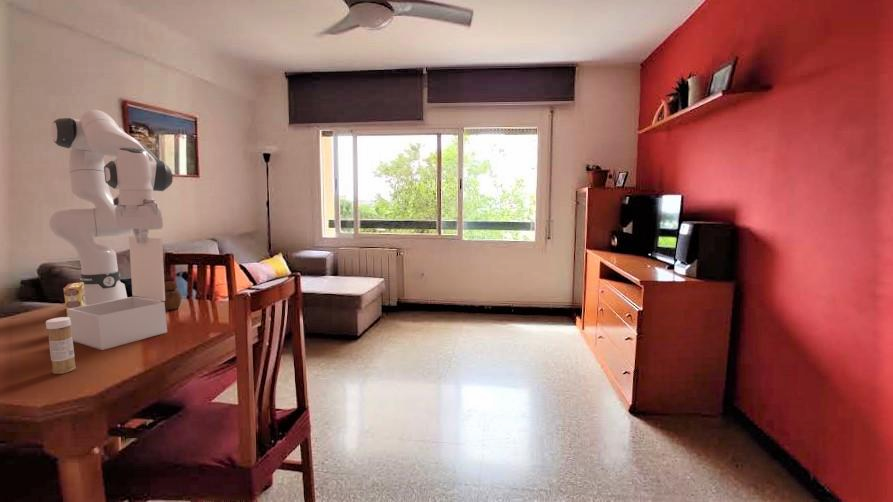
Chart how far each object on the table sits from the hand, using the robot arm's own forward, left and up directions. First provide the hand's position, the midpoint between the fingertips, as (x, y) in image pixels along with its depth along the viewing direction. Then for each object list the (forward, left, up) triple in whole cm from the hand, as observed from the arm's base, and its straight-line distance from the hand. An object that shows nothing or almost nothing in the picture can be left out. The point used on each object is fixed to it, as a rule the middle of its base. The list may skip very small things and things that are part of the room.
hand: (141, 243), depth 140 cm
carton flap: (0, +1, -8) cm, 8 cm away
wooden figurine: (-20, +18, -29) cm, 39 cm away
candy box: (-19, -12, -29) cm, 36 cm away
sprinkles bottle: (+18, -30, -29) cm, 45 cm away
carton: (0, -9, -28) cm, 30 cm away
